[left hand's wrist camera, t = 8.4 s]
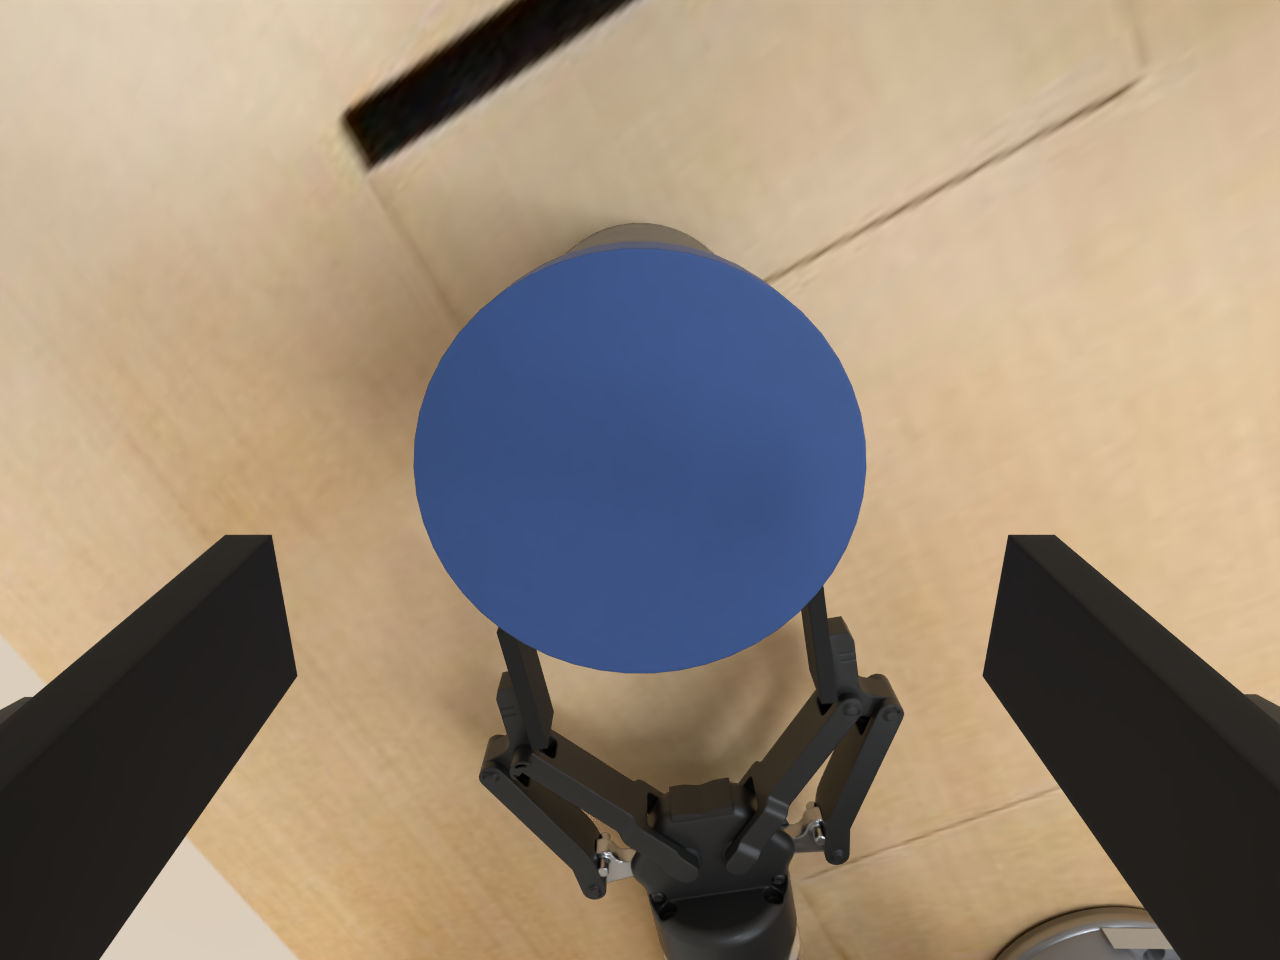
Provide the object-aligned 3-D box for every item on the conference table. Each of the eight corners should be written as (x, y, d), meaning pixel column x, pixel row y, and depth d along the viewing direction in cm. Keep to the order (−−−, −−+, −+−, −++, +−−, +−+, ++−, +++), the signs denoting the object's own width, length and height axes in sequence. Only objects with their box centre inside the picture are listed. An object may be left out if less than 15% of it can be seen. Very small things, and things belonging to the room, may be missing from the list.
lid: (467, 638, 23) (449, 684, 21) (404, 256, 19) (375, 264, 17) (837, 617, 23) (858, 662, 20) (849, 226, 19) (876, 231, 17)
